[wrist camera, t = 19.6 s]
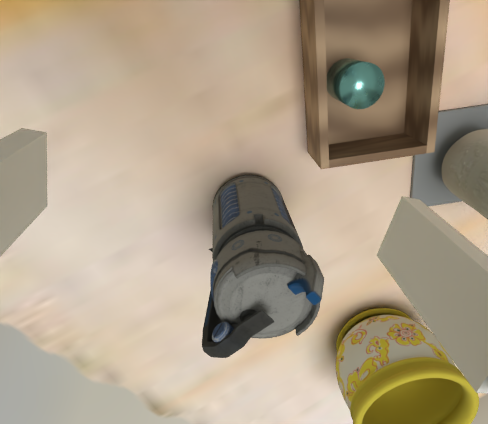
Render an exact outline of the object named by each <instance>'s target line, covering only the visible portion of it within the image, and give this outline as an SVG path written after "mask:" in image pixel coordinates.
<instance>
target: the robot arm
mask: <svg viewBox="0 0 488 424" xmlns="http://www.w3.org/2000/svg"><path fill="white" fill-rule="evenodd" d="M46 207H47V133H46V132H41V131H35V130H30V129H24V128H21V129H20V130H18V131H16V132H14V133H12V134H10V135H8V136H6V137H4V138H2V139H1V140H0V256H1V255H2V254H3V253H4V252H5V251H6V250H7V249H8V248H9V247H10V246H11V244H12V243H13V242H14V241H15V240H16V239H17V238H18V237H19V236H20V235H21V234H22V233H23V232H24V230H25V229H26V228H27V227H28V226H29V225H30V224H31V223H32V222H33V221H34V220H35V219H36V218H37V216H38V215H39V214H40V213H41V212H42V211H43V210H44V209H45V208H46ZM377 256H378V258H379V259H380V261H381V262H382V263H383V265H384V266H385V267H386V269H387V270H388V272H389V273H390V274H391V276H392V277H393V279H394V280H395V281H396V283H397V284H398V285H399V287H400V288H401V290H402V291H403V292H404V294H405V295H406V296H407V298H408V299H409V301H410V302H411V303H412V305H413V306H414V308H415V309H416V310H417V312H418V313H419V314H420V316H421V317H422V319H423V320H424V321H425V323H426V324H427V325H428V327H429V328H430V330H431V331H432V332H433V334H434V335H435V336H436V338H437V339H438V341H439V342H440V343H441V345H442V346H443V348H444V349H445V350H446V352H447V353H448V354H449V356H450V357H451V359H452V360H453V361H454V363H455V364H456V365H457V367H458V368H459V370H460V371H461V372H462V374H463V375H464V377H465V378H466V379H467V381H468V382H469V383H470V385H471V386H472V388H473V389H474V390H475V392H476V393H487V394H488V256H487V255H486V254H485V253H484V252H482V251H481V250H480V249H479V248H478V247H476V246H475V245H474V244H473V243H472V242H470V241H469V240H468V239H467V238H465V237H464V236H463V235H462V234H461V233H459V232H458V231H457V230H456V229H455V228H453V227H452V226H451V225H450V224H449V223H447V222H446V221H445V220H444V219H442V218H441V217H440V216H439V215H438V214H436V213H435V212H434V211H433V210H432V209H430V208H429V207H428V206H427V205H426V204H424V203H423V202H422V201H421V200H419V199H413V198H408V197H402V198H401V200H400V202H399V205H398V207H397V209H396V212H395V214H394V216H393V219H392V221H391V223H390V226H389V228H388V230H387V233H386V235H385V237H384V240H383V242H382V244H381V247H380V249H379V251H378V254H377Z"/></svg>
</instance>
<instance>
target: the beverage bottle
mask: <svg viewBox="0 0 488 424" xmlns="http://www.w3.org/2000/svg"><path fill="white" fill-rule="evenodd" d="M209 250H211V251H212V252H213V264H212V269H211V291H210V296H209V301H208V307H207V312H206V317H205V322H204V327H203V339H202V347H203V350H204V352H205V353H207V354H208V355H209V356H210V357H218V358H227V357H229V356H230V355H232V354H233V353H235V352H236V351H238V350H239V349H241V348H242V347H244V346H245V344H246V343H247V341H248V340H249V339H250V338H272V337H277V336H281V335H283V334H286V333H289V332H291V331H292V330H294V329H296V335H297V336H298V335H300V334H301V333H302V332H304V331H305V330H306V329H307V328H308V327H309V326H310V325H311V324H312V323H313V321H314V320H315V318H316V316H317V314H318V311H319V308H320V301H321V298H322V291H323V284H324V277H323V275H322V273H321V271H320V268H319V266H318V264H317V262H316V261H315V260H314V259H313V258H312V257H311V256H310V255H307V254H306V253H305V251H304V250H303V246H302V243H301V241H300V239H299V236H298V234H297V231H296V229H295V227H294V224H293V222H292V220H291V217H290V215H289V212H288V210H287V208H286V205H285V203H284V200H283V198H282V196H281V193H280V191H279V190H278V188H277V187H276V186H275V185H274V184H273V183H272V182H270V181H269V180H267V179H265V178H262V177H260V176H254V175H244V176H240V177H236V178H234V179H232V180H230V181H228V182H227V183H225V184H224V185H223V186H222V187H221V188H220V189H219V191H218V192H217V194H216V196H215V199H214V202H213V248H211V249H209Z"/></svg>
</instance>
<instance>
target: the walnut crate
mask: <svg viewBox="0 0 488 424" xmlns="http://www.w3.org/2000/svg"><path fill="white" fill-rule="evenodd" d="M299 1H300V19H301V37H302V55H303V73H304V91H305V109H306V127H307V145H308V153H309V154H310V156H311V157H312V158H313V159H314V161H315V162H316V163H317V165H318V166H319V167H320V168H321V169H325V168H332V167H339V166H345V165H352V164H359V163H365V162H372V161H379V160H385V159H392V158H399V157H405V156H412V155H419V154H425V153H432V152H434V151H435V141H436V132H437V122H438V112H439V102H440V92H441V82H442V72H443V62H444V52H445V42H446V32H447V22H448V12H449V2H450V0H299ZM347 58H349V59H355V60H359V61H364V62H369V63H373V64H375V65H377V66H378V67H379V68H380V69H381V71H382V73H383V75H384V80H385V85H384V90H383V93H382V95H381V96H380V98H379V99H378V101H377V102H376V103H374V104H373V105H372V106H370V107H368V108H365V109H353V108H351V107H349V106H347V105H345V104H344V103H342V102H340V101H338V100H337V99H335V98H333V97H332V96H331V95H330V94H329V93H328V91H327V73H328V71H329V69H330V68H331V66H332V65H333V64H335V63H336V62H337V61H339V60H342V59H347Z"/></svg>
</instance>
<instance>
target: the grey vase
mask: <svg viewBox="0 0 488 424" xmlns="http://www.w3.org/2000/svg"><path fill="white" fill-rule="evenodd" d="M442 179H443V182H444V184H445V186H446V187H447V188H448V189H449V190H450V191H451V192H452V193H453V194H454V195H455V196H457V197H458V198H459V199H461V200H462V201H463V202H465V203H466V204H468V205H469V206H471V207H472V208H474V209H475V210H476V211H478V212H479V213H480V214H482V215H483V216H484V217H485V218H487V219H488V129H482V130H476V131H473V132H470V133H468V134H466V135H465V136H463V137H462V138H460V139H459V140H458V141H456V142H455V143H454V144H453V145H452V146H451V147H450V149H449V150H448V151H447V153H446V155H445V157H444V159H443V163H442Z"/></svg>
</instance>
